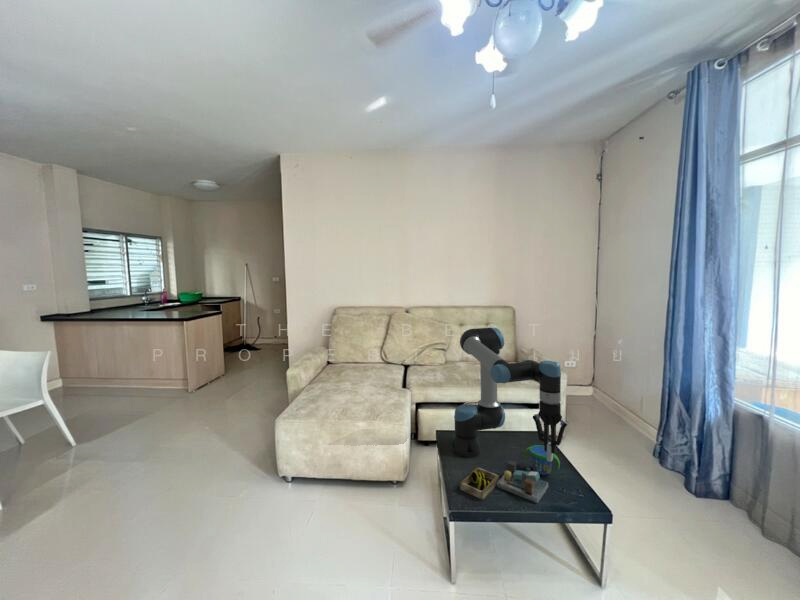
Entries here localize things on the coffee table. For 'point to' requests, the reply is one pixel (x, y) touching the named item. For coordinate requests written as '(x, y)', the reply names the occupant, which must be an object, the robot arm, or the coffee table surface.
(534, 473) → the block
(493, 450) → the coffee table surface
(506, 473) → the ochre button
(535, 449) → the snack cup
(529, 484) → the brown rectangular block
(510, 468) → the dark grey block
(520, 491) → the panel
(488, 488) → the wooden tray
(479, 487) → the opera glasses
